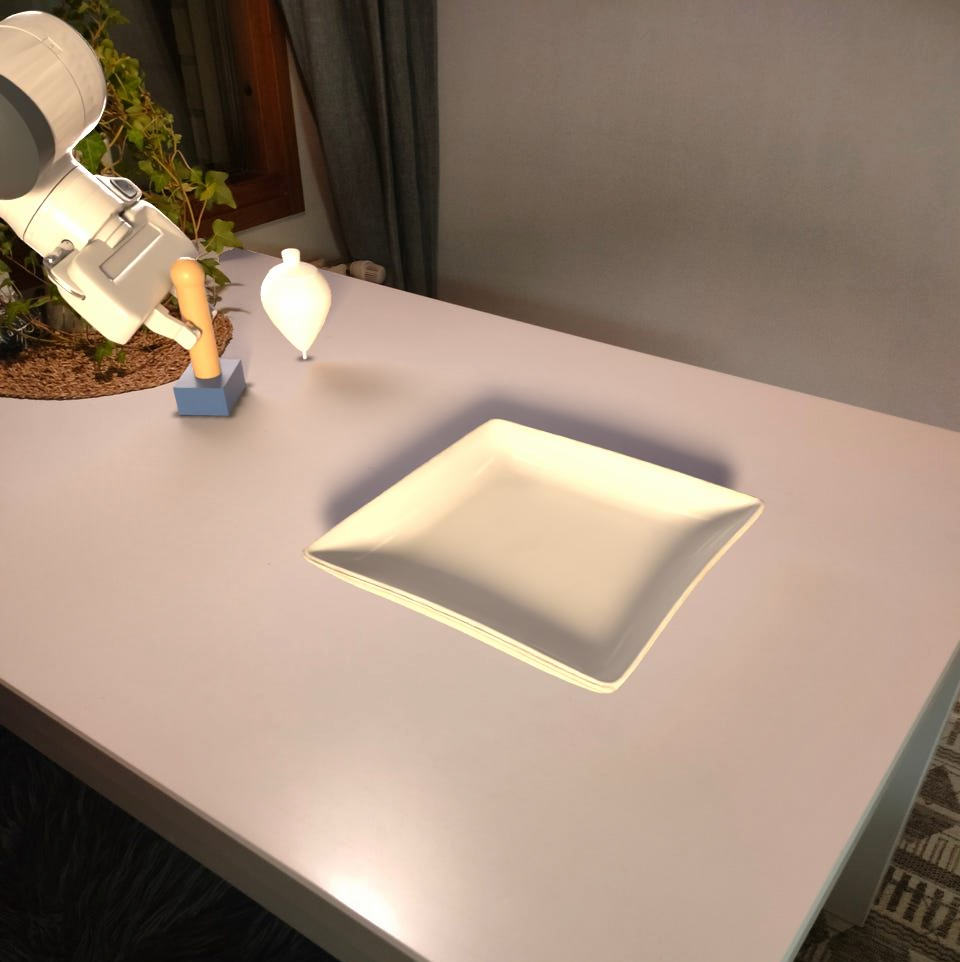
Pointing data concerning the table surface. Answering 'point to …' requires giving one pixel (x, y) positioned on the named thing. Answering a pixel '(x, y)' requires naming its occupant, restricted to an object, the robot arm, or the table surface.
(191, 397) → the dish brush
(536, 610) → the square plate
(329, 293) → the spinning top
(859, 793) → the table surface
